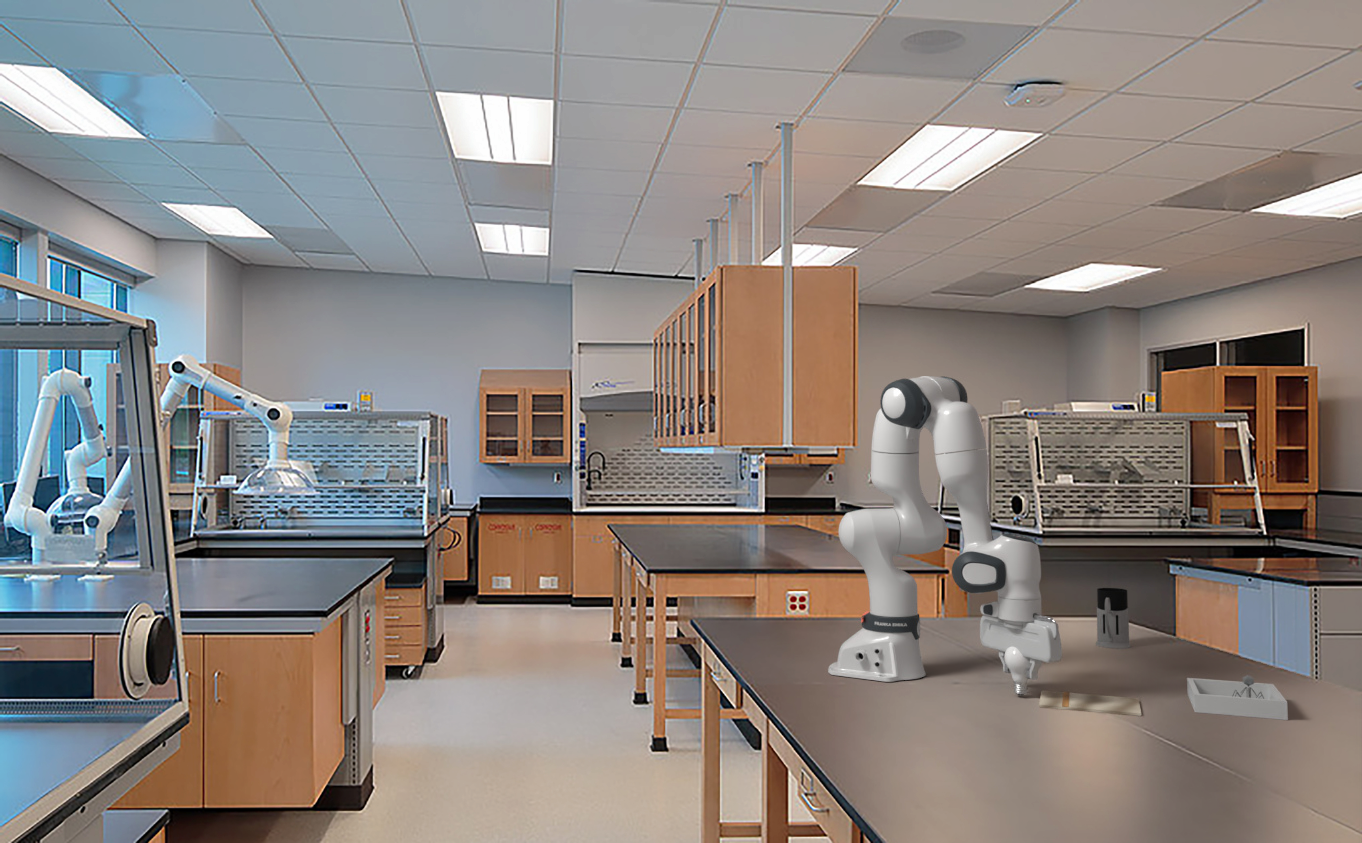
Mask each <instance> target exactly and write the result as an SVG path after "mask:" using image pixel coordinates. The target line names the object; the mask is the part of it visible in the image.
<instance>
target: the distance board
mask: <svg viewBox="0 0 1362 843" xmlns="http://www.w3.org/2000/svg"><path fill="white" fill-rule="evenodd" d="M1038 707H1039V708H1046V709H1057V710H1058V709H1059V710H1069V711H1078V712H1079V711H1080V712H1092V713H1101V714H1103V713H1105V714H1114V715H1116V714H1117V715H1125V716H1127V715H1128V716H1137V717H1138V716H1139V717H1141V716H1142V710H1141V705H1140V700H1139V698H1138V697H1124V696H1115V695H1102V694H1101V695H1100V694H1090V693H1089V694H1087V693H1076V692H1075V693H1074V692H1069V691H1063V692H1062V691H1052V690H1051V691H1049V690H1041V694H1040V698H1039V702H1038Z"/></svg>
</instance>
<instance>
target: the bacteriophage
mask: <svg viewBox="0 0 1362 843" xmlns="http://www.w3.org/2000/svg"><path fill="white" fill-rule="evenodd" d="M1242 682H1243V683H1244V684H1246V685H1247V686H1248V687H1245V688H1244V689H1246V693H1247V694H1246V698H1251V689H1252V688H1251V687H1249V686H1250V685H1252V684H1254V683H1255V681H1254V677H1252V676H1251V675H1249V674H1247V675H1245V676H1242ZM1252 690H1253V689H1252ZM1244 691H1245V690H1244ZM1244 691H1243V692H1244ZM1253 692H1254V691H1253ZM1234 693H1235V691H1234ZM1254 693H1255V692H1254ZM1260 693H1261V692H1260ZM1260 693H1259V694H1260ZM1236 694H1239V693H1238V692H1237V691H1236ZM1242 694H1243V693H1242ZM1242 694H1241V695H1242ZM1255 694H1256V693H1255ZM1259 694H1258V695H1259ZM1261 694H1262V693H1261ZM1233 695H1234V694H1233ZM1256 696H1257V695H1256ZM1261 696H1262V697H1263V695H1261ZM1261 696H1260V697H1261ZM1235 697H1236V695H1235ZM1240 697H1241V696H1240ZM1257 697H1258V696H1257ZM1257 697H1256V698H1257ZM1260 697H1259V698H1260ZM1263 699H1264V697H1263Z"/></svg>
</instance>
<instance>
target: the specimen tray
mask: <svg viewBox="0 0 1362 843" xmlns="http://www.w3.org/2000/svg"><path fill="white" fill-rule="evenodd" d="M1186 681H1187V682H1186V684H1187V687H1186V688H1187V691H1186V692H1187V697H1188V699H1189V701H1190V703H1191V706H1192V708H1193V711H1194V713H1197V714H1198V713H1199V714H1210V715H1225V716H1235V717H1245V718H1246V717H1248V718H1258V719H1260V718H1261V719H1273V720H1281V721H1282V720H1285V721H1288V720H1289V718H1288V717H1289V714H1288V701H1287V699H1286V698H1285V697H1284V696H1283V694H1282V693H1281V692H1280V691H1279V690H1278V688H1277V687H1276V686H1275V684H1274V683H1262V682H1254V684H1252V685H1250V686H1249V687H1251V688H1252V689H1253V690H1252V689H1251V698H1246V694H1247V693H1246V689H1244V688H1245V687H1248V686H1247V685H1246V684H1244V683H1243V681H1238V680H1237V681H1236V680H1235V681H1234V680H1222V679H1208V678H1197V677H1195V678H1194V677H1187V678H1186ZM1244 690H1245V691H1244ZM1234 691H1235V693H1234ZM1236 691H1237V692H1238V693H1239V694H1236ZM1243 691H1244V692H1243ZM1253 691H1254V692H1255V693H1256V694H1255V693H1254V692H1253ZM1260 692H1261V693H1262V694H1261V693H1260ZM1242 693H1243V694H1242ZM1259 693H1260V694H1259ZM1233 694H1234V695H1233ZM1241 694H1242V695H1241ZM1258 694H1259V695H1258ZM1235 695H1236V697H1235ZM1256 695H1257V696H1258V697H1257V696H1256ZM1261 695H1263V697H1264V699H1263V697H1262V696H1261ZM1240 696H1241V697H1240ZM1260 696H1261V697H1260ZM1256 697H1257V698H1256ZM1259 697H1260V698H1259Z"/></svg>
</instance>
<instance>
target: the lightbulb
mask: <svg viewBox="0 0 1362 843" xmlns="http://www.w3.org/2000/svg"><path fill="white" fill-rule="evenodd" d="M1004 659H1005V663H1006V665H1007V667H1008V668H1009V670H1010V672H1011V673H1010V675H1011V679H1012V680H1013V687H1014V688H1013V693H1014V694H1016V695H1018V697H1019V696H1021V697H1023V696H1025V695H1026V694H1028V680H1029V679H1028V678H1027V677H1026V675H1027V674H1026V670H1030V668H1031V665H1032V664H1031V663H1030V658H1027V657H1024V656H1022V654H1021V653H1020V651H1019V650H1018V649H1017V648H1015V647H1009V648H1008V649H1007V650H1006V652H1005V655H1004Z"/></svg>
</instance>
